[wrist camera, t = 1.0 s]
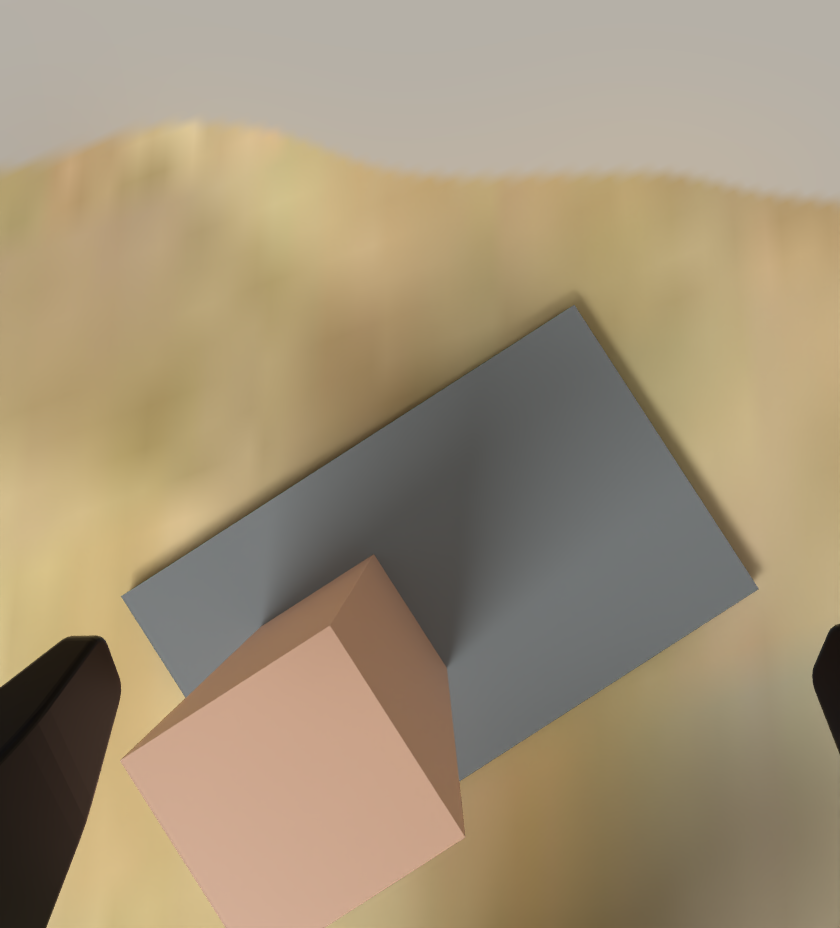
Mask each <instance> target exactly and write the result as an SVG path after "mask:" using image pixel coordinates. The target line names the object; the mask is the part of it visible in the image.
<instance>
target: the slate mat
mask: <svg viewBox="0 0 840 928" xmlns="http://www.w3.org/2000/svg"><path fill="white" fill-rule="evenodd" d="M373 554H374V555H375V557H376V558H377V560H378V561H379V563H380V564H381V566H382V568H383V569H384V571H385V572H386V574H387V575H388V577H389V579H390V580H391V582H392V583H393V585H394V586H395V588H396V589H397V591H398V593H399V594H400V596H401V597H402V599H403V600H404V602H405V603H406V605H407V607H408V608H409V610H410V611H411V613H412V614H413V616H414V617H415V619H416V621H417V622H418V624H419V625H420V627H421V628H422V630H423V632H424V633H425V635H426V636H427V638H428V639H429V641H430V642H431V644H432V646H433V647H434V649H435V650H436V652H437V653H438V655H439V656H440V658H441V660H442V661H443V663H444V664H445V666H446V667H447V674H448V683H449V692H450V701H451V710H452V719H453V729H454V738H455V747H456V756H457V765H458V775H459V781H461V780H462V779H464V778H465V777H467V776H468V775H470V774H471V773H473V772H475V771H476V770H478V769H479V768H481V767H482V766H484V765H485V764H487V763H489V762H490V761H492V760H493V759H495V758H496V757H498V756H499V755H501V754H503V753H504V752H506V751H507V750H509V749H510V748H512V747H513V746H515V745H517V744H518V743H520V742H521V741H523V740H524V739H526V738H528V737H529V736H531V735H532V734H534V733H535V732H537V731H538V730H540V729H542V728H543V727H545V726H546V725H548V724H549V723H551V722H552V721H554V720H556V719H557V718H559V717H560V716H562V715H563V714H565V713H566V712H568V711H570V710H571V709H573V708H574V707H576V706H577V705H579V704H580V703H582V702H584V701H585V700H587V699H588V698H590V697H591V696H593V695H594V694H596V693H598V692H599V691H601V690H602V689H604V688H605V687H607V686H608V685H610V684H612V683H613V682H615V681H616V680H618V679H619V678H621V677H622V676H624V675H626V674H627V673H629V672H630V671H632V670H633V669H635V668H636V667H638V666H640V665H641V664H643V663H644V662H646V661H647V660H649V659H650V658H652V657H654V656H655V655H657V654H658V653H660V652H661V651H663V650H664V649H666V648H668V647H669V646H671V645H672V644H674V643H675V642H677V641H679V640H680V639H682V638H683V637H685V636H686V635H688V634H689V633H691V632H693V631H694V630H696V629H697V628H699V627H700V626H702V625H703V624H705V623H707V622H708V621H710V620H711V619H713V618H714V617H716V616H717V615H719V614H721V613H722V612H724V611H725V610H727V609H728V608H730V607H731V606H733V605H735V604H736V603H738V602H739V601H741V600H742V599H744V598H745V597H747V596H749V595H750V594H752V593H753V592H755V591H756V590H758V587H757V586H756V584H755V582H754V581H753V579H752V578H751V576H750V575H749V573H748V572H747V570H746V569H745V567H744V565H743V564H742V562H741V561H740V559H739V558H738V556H737V555H736V553H735V552H734V550H733V549H732V547H731V545H730V544H729V542H728V541H727V539H726V538H725V536H724V535H723V533H722V532H721V530H720V529H719V527H718V525H717V524H716V522H715V521H714V519H713V518H712V516H711V515H710V513H709V512H708V510H707V508H706V507H705V505H704V504H703V502H702V501H701V499H700V498H699V496H698V495H697V493H696V492H695V490H694V488H693V487H692V485H691V484H690V482H689V481H688V479H687V478H686V476H685V475H684V473H683V472H682V470H681V468H680V467H679V465H678V464H677V462H676V461H675V459H674V458H673V456H672V455H671V453H670V451H669V450H668V448H667V447H666V445H665V444H664V442H663V441H662V439H661V438H660V436H659V435H658V433H657V431H656V430H655V428H654V427H653V425H652V424H651V422H650V421H649V419H648V418H647V416H646V415H645V413H644V411H643V410H642V408H641V407H640V405H639V404H638V402H637V401H636V399H635V398H634V396H633V394H632V393H631V391H630V390H629V388H628V387H627V385H626V384H625V382H624V381H623V379H622V378H621V376H620V374H619V373H618V371H617V370H616V368H615V367H614V365H613V364H612V362H611V361H610V359H609V358H608V356H607V354H606V353H605V351H604V350H603V348H602V347H601V345H600V344H599V342H598V341H597V339H596V337H595V336H594V334H593V333H592V331H591V330H590V328H589V327H588V325H587V324H586V322H585V321H584V319H583V317H582V316H581V314H580V313H579V311H578V310H577V308H576V307H575V305H573V306H572V307H570V308H568V309H567V310H565V311H564V312H562V313H561V314H559V315H558V316H556V317H554V318H553V319H551V320H550V321H548V322H547V323H545V324H544V325H542V326H540V327H539V328H537V329H536V330H534V331H533V332H531V333H530V334H528V335H526V336H525V337H523V338H522V339H520V340H519V341H517V342H516V343H514V344H512V345H511V346H509V347H508V348H506V349H505V350H503V351H502V352H500V353H499V354H497V355H495V356H494V357H492V358H491V359H489V360H488V361H486V362H485V363H483V364H481V365H480V366H478V367H477V368H475V369H474V370H472V371H471V372H469V373H467V374H466V375H464V376H463V377H461V378H460V379H458V380H457V381H455V382H453V383H452V384H450V385H449V386H447V387H446V388H444V389H443V390H441V391H439V392H438V393H436V394H435V395H433V396H432V397H430V398H429V399H427V400H425V401H424V402H422V403H421V404H419V405H418V406H416V407H415V408H413V409H412V410H410V411H408V412H407V413H405V414H404V415H402V416H401V417H399V418H398V419H396V420H394V421H393V422H391V423H390V424H388V425H387V426H385V427H384V428H382V429H380V430H379V431H377V432H376V433H374V434H373V435H371V436H370V437H368V438H366V439H365V440H363V441H362V442H360V443H359V444H357V445H356V446H354V447H352V448H351V449H349V450H348V451H346V452H345V453H343V454H342V455H340V456H338V457H337V458H335V459H334V460H332V461H331V462H329V463H328V464H326V465H325V466H323V467H321V468H320V469H318V470H317V471H315V472H314V473H312V474H311V475H309V476H307V477H306V478H304V479H303V480H301V481H300V482H298V483H297V484H295V485H293V486H292V487H290V488H289V489H287V490H286V491H284V492H283V493H281V494H279V495H278V496H276V497H275V498H273V499H272V500H270V501H269V502H267V503H265V504H264V505H262V506H261V507H259V508H258V509H256V510H255V511H253V512H251V513H250V514H248V515H247V516H245V517H244V518H242V519H241V520H239V521H238V522H236V523H234V524H233V525H231V526H230V527H228V528H227V529H225V530H224V531H222V532H220V533H219V534H217V535H216V536H214V537H213V538H211V539H210V540H208V541H206V542H205V543H203V544H202V545H200V546H199V547H197V548H196V549H194V550H192V551H191V552H189V553H188V554H186V555H185V556H183V557H182V558H180V559H178V560H177V561H175V562H174V563H172V564H171V565H169V566H168V567H166V568H164V569H163V570H161V571H160V572H158V573H157V574H155V575H154V576H152V577H150V578H149V579H147V580H146V581H144V582H143V583H141V584H140V585H138V586H137V587H135V588H133V589H132V590H130V591H129V592H127V593H126V594H124V595H123V596H121V597H122V598H123V600H124V602H125V603H126V605H127V606H128V608H129V610H130V611H131V613H132V614H133V616H134V617H135V619H136V621H137V622H138V624H139V625H140V627H141V628H142V630H143V632H144V633H145V635H146V636H147V638H148V639H149V641H150V643H151V644H152V646H153V647H154V649H155V650H156V652H157V654H158V655H159V657H160V658H161V660H162V661H163V663H164V665H165V666H166V668H167V669H168V671H169V672H170V674H171V676H172V677H173V679H174V680H175V682H176V684H177V685H178V687H179V688H180V690H181V691H182V693H183V695H184V696H185V698H186V697H187V696H188V695H189V694H190V693H191V692H193V691H194V690H195V689H196V688H197V687H198V686H199V685H200V684H201V683H202V682H203V681H204V680H205V679H206V678H207V677H208V676H209V675H210V674H211V673H212V672H214V671H215V670H216V669H217V668H218V667H219V666H220V665H221V664H222V663H223V662H224V661H225V660H226V659H227V658H228V657H229V656H230V655H231V654H232V653H234V652H235V651H236V650H237V649H238V648H239V647H240V646H241V645H242V644H243V643H244V642H245V641H246V640H247V639H248V638H249V637H250V636H251V635H252V634H254V633H255V632H256V631H257V630H258V629H259V628H260V627H261V626H263V625H264V624H266V623H267V622H269V621H270V620H272V619H274V618H275V617H277V616H278V615H280V614H281V613H283V612H284V611H286V610H288V609H289V608H291V607H292V606H294V605H295V604H297V603H298V602H300V601H302V600H303V599H305V598H306V597H308V596H309V595H311V594H312V593H314V592H316V591H317V590H319V589H320V588H322V587H323V586H325V585H326V584H328V583H330V582H331V581H333V580H334V579H336V578H337V577H339V576H340V575H342V574H344V573H345V572H347V571H348V570H350V569H351V568H353V567H354V566H356V565H358V564H359V563H361V562H362V561H364V560H365V559H367V558H368V557H370V556H372V555H373Z"/></svg>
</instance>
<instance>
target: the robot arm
mask: <svg viewBox="0 0 840 928" xmlns="http://www.w3.org/2000/svg"><path fill="white" fill-rule="evenodd" d="M812 678H813V685H814V689H815V692H816V694H817V697H818V700H819V702H820V705H821V707H822V710H823V712H824V715H825V718H826V720H827V723H828V725H829V728H830V730H831V733H832V736H833V738H834V741H835V743H836V746H837V749H838V751H839V754H840V624H837V625H835V626H834V627H832V628H831V629H830V631H829V633H828V635H827V637H826V640H825V642H824V644H823V646H822V649H821V651H820V653H819V656H818V658H817V660H816V663H815V665H814V668H813V674H812ZM120 695H121V682H120V678H119V675H118V672H117V670H116V667H115V664H114V661H113V659H112V656H111V653H110V651H109V648H108V645H107V643H106V641H105V640H104V639H103V638H102V637H100V636H70V637H67V638H65V639H63V640H61V641H60V642H59V643H57V644H56V645H55V646H53V647H52V648H51V649H50V650H48V651H47V652H46V653H44V654H43V655H42V656H40V657H39V658H38V659H37V660H35V661H34V662H33V663H31V664H30V665H29V666H28V667H26V668H25V669H24V670H22V671H21V672H20V673H18V674H17V675H16V676H15V677H13V678H12V679H11V680H9V681H8V682H7V683H5V684H4V685H3V686H2V687H0V928H46V927H47V924H48V922H49V919H50V917H51V914H52V911H53V909H54V906H55V904H56V901H57V898H58V896H59V893H60V891H61V888H62V885H63V883H64V880H65V878H66V875H67V872H68V870H69V867H70V864H71V862H72V859H73V857H74V854H75V851H76V849H77V846H78V844H79V841H80V838H81V835H82V832H83V830H84V827H85V824H86V821H87V818H88V814H89V811H90V808H91V804H92V801H93V797H94V794H95V790H96V786H97V782H98V779H99V775H100V771H101V768H102V764H103V760H104V757H105V753H106V749H107V745H108V742H109V738H110V734H111V731H112V727H113V723H114V719H115V716H116V712H117V708H118V705H119V701H120Z"/></svg>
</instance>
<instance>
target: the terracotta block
mask: <svg viewBox="0 0 840 928" xmlns="http://www.w3.org/2000/svg"><path fill="white" fill-rule="evenodd" d="M120 761H121V763H122V765H123V766H124V768H125V769H126V771H127V773H128V774H129V776H130V777H131V779H132V780H133V782H134V784H135V785H136V787H137V788H138V790H139V792H140V793H141V795H142V796H143V798H144V799H145V801H146V803H147V804H148V806H149V807H150V809H151V810H152V812H153V814H154V815H155V817H156V818H157V820H158V822H159V823H160V825H161V826H162V828H163V829H164V831H165V833H166V834H167V836H168V837H169V839H170V841H171V842H172V844H173V845H174V847H175V848H176V850H177V852H178V853H179V855H180V856H181V858H182V859H183V861H184V863H185V864H186V866H187V867H188V869H189V871H190V872H191V874H192V875H193V877H194V878H195V880H196V882H197V883H198V885H199V886H200V888H201V890H202V891H203V893H204V894H205V896H206V897H207V899H208V901H209V902H210V904H211V905H212V907H213V908H214V910H215V912H216V913H217V915H218V916H219V918H220V920H221V921H222V923H223V924H224V926H225V927H226V928H325V927H327V926H328V925H330V924H331V923H333V922H334V921H336V920H337V919H339V918H341V917H342V916H344V915H345V914H347V913H348V912H350V911H351V910H353V909H355V908H356V907H358V906H359V905H361V904H362V903H364V902H365V901H367V900H369V899H370V898H372V897H373V896H375V895H376V894H378V893H380V892H381V891H383V890H384V889H386V888H387V887H389V886H390V885H392V884H394V883H395V882H397V881H398V880H400V879H401V878H403V877H404V876H406V875H408V874H409V873H411V872H412V871H414V870H415V869H417V868H418V867H420V866H422V865H423V864H425V863H426V862H428V861H429V860H431V859H432V858H434V857H436V856H437V855H439V854H440V853H442V852H443V851H445V850H446V849H448V848H450V847H451V846H453V845H454V844H456V843H457V842H459V841H460V840H462V839H464V838H465V830H464V821H463V811H462V802H461V793H460V784H459V775H458V765H457V756H456V747H455V738H454V729H453V719H452V710H451V701H450V692H449V683H448V674H447V667H446V666H445V664H444V663H443V661H442V660H441V658H440V656H439V655H438V653H437V652H436V650H435V649H434V647H433V646H432V644H431V642H430V641H429V639H428V638H427V636H426V635H425V633H424V632H423V630H422V628H421V627H420V625H419V624H418V622H417V621H416V619H415V617H414V616H413V614H412V613H411V611H410V610H409V608H408V607H407V605H406V603H405V602H404V600H403V599H402V597H401V596H400V594H399V593H398V591H397V589H396V588H395V586H394V585H393V583H392V582H391V580H390V579H389V577H388V575H387V574H386V572H385V571H384V569H383V568H382V566H381V564H380V563H379V561H378V560H377V558H376V557H375V555H374V554H373V555H372V556H370V557H368V558H367V559H365V560H364V561H362V562H361V563H359V564H358V565H356V566H354V567H353V568H351V569H350V570H348V571H347V572H345V573H344V574H342V575H340V576H339V577H337V578H336V579H334V580H333V581H331V582H330V583H328V584H326V585H325V586H323V587H322V588H320V589H319V590H317V591H316V592H314V593H312V594H311V595H309V596H308V597H306V598H305V599H303V600H302V601H300V602H298V603H297V604H295V605H294V606H292V607H291V608H289V609H288V610H286V611H284V612H283V613H281V614H280V615H278V616H277V617H275V618H274V619H272V620H270V621H269V622H267V623H266V624H264V625H263V626H261V627H260V628H259V629H258V630H257V631H256V632H255V633H254V634H252V635H251V636H250V637H249V638H248V639H247V640H246V641H245V642H244V643H243V644H242V645H241V646H240V647H239V648H238V649H237V650H236V651H235V652H234V653H232V654H231V655H230V656H229V657H228V658H227V659H226V660H225V661H224V662H223V663H222V664H221V665H220V666H219V667H218V668H217V669H216V670H215V671H214V672H212V673H211V674H210V675H209V676H208V677H207V678H206V679H205V680H204V681H203V682H202V683H201V684H200V685H199V686H198V687H197V688H196V689H195V690H194V691H193V692H191V693H190V694H189V695H188V696H187V697H186V698H185V699H184V700H183V701H182V702H181V703H180V704H179V705H178V706H177V707H176V708H175V709H174V710H173V711H171V712H170V713H169V714H168V715H167V716H166V717H165V718H164V719H163V720H162V721H161V722H160V723H159V724H158V725H157V726H156V727H155V728H154V729H153V730H151V731H150V732H149V733H148V734H147V735H146V736H145V737H144V738H143V739H142V740H141V741H140V742H139V743H138V744H137V745H136V746H135V747H134V748H133V749H131V750H130V751H129V752H128V753H127V754H126V755H125V756H124V757H123V758H122V759H121V760H120Z"/></svg>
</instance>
